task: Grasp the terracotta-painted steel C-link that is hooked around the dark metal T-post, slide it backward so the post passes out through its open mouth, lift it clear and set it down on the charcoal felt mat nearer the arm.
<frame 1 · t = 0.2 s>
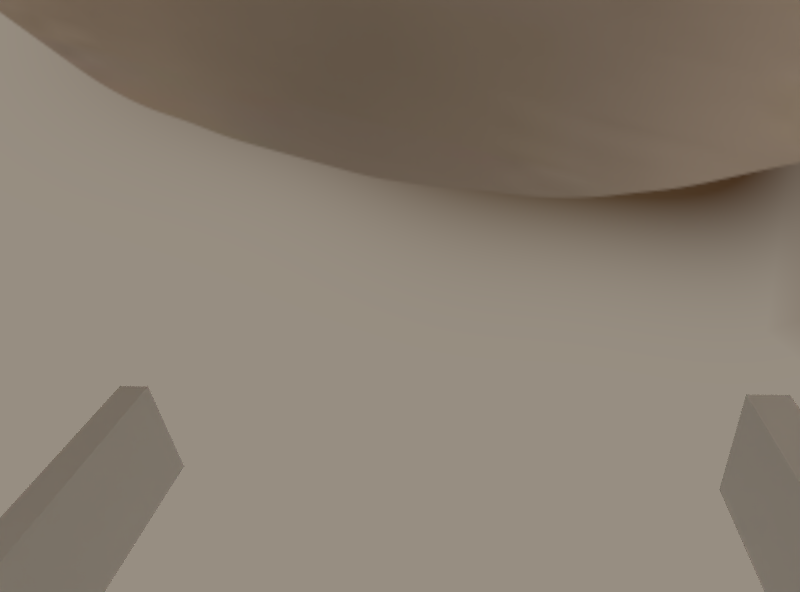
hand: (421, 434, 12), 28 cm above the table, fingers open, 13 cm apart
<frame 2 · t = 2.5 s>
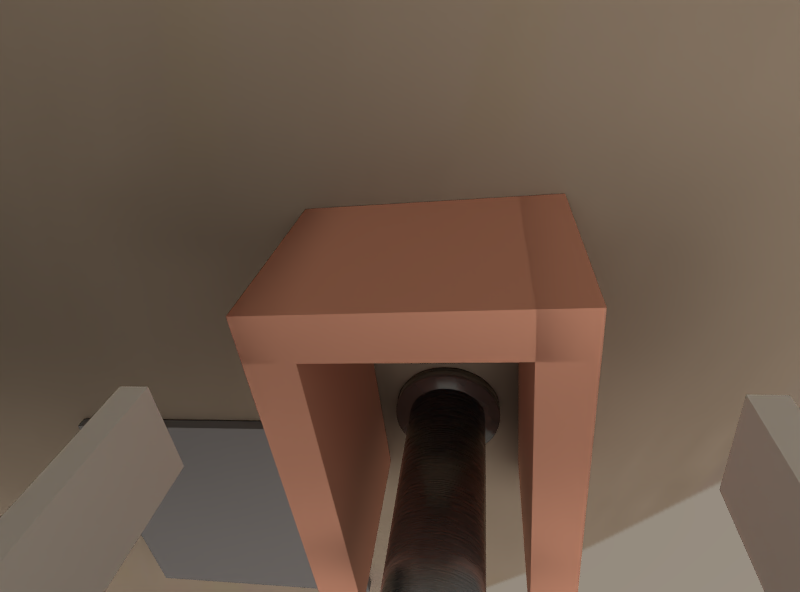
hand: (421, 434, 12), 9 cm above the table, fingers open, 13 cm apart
c link: (443, 351, 22), on the table
mat: (238, 507, 29), on the table
stand: (448, 407, 23), on the table
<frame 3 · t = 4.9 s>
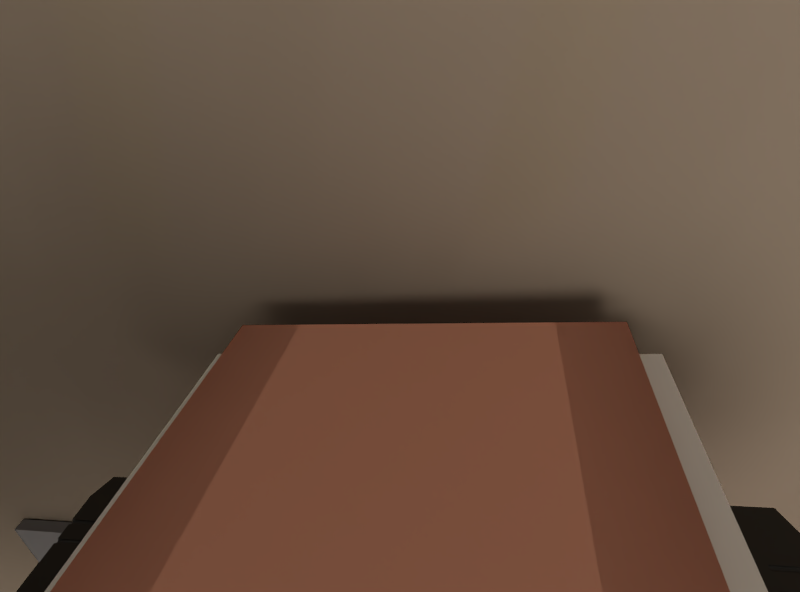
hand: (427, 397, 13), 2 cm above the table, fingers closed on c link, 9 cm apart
c link: (441, 507, 16), point 2 cm above the table, touching gripper
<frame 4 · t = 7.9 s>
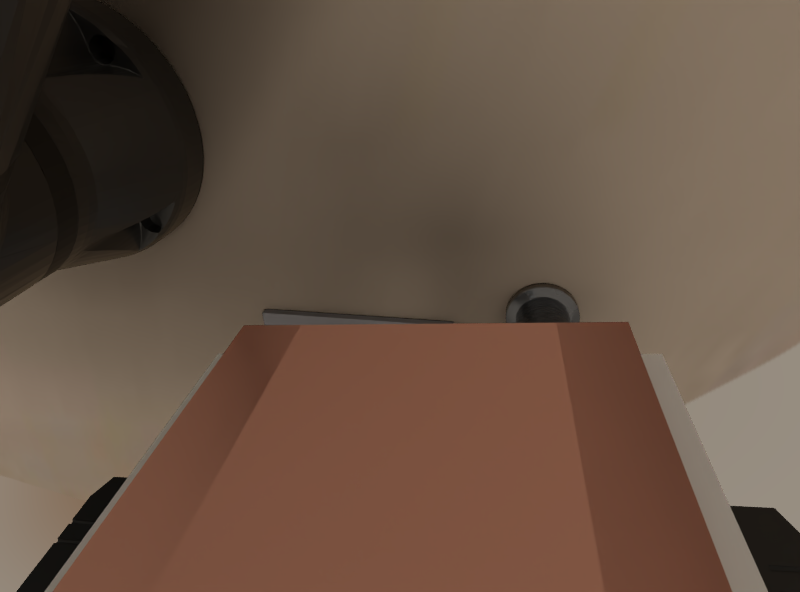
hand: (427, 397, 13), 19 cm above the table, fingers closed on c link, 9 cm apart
c link: (442, 507, 16), point 19 cm above the table, touching gripper
mat: (362, 390, 39), on the table
stand: (541, 314, 33), on the table
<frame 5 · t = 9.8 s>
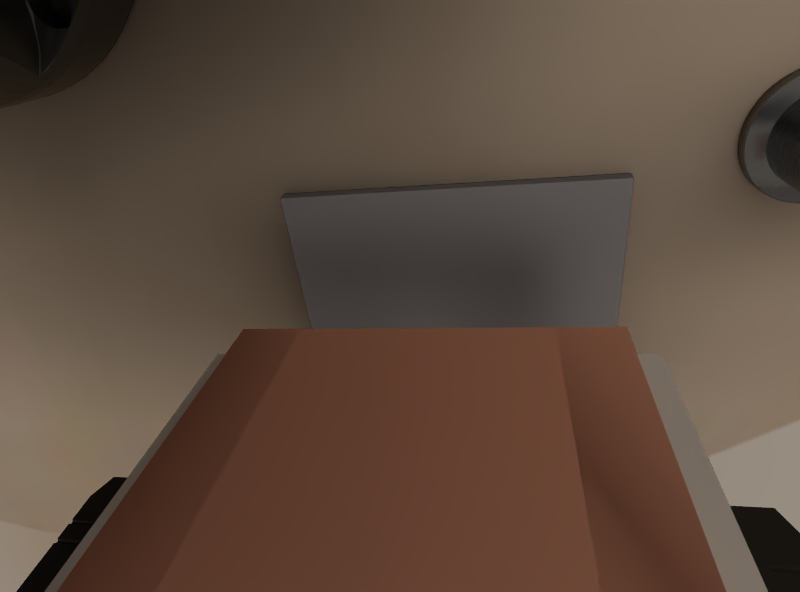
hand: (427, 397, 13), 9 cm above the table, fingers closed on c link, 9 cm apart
c link: (441, 510, 16), point 9 cm above the table, touching gripper
mat: (457, 326, 23), on the table
when the fingers open (2 cm above the table, at t = 11.2 s): c link stays where it is, resting on mat.
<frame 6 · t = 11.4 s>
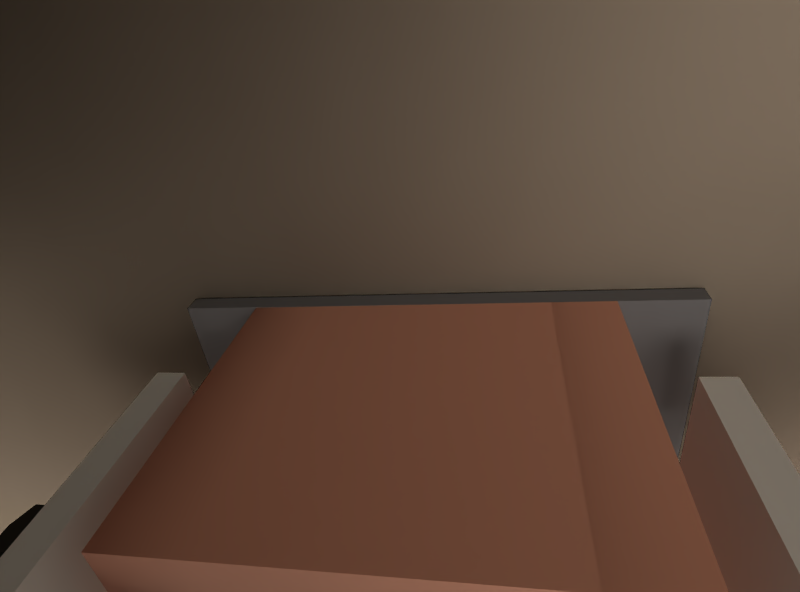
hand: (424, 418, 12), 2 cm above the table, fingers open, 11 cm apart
c link: (444, 483, 16), resting on mat
mat: (445, 470, 17), on the table
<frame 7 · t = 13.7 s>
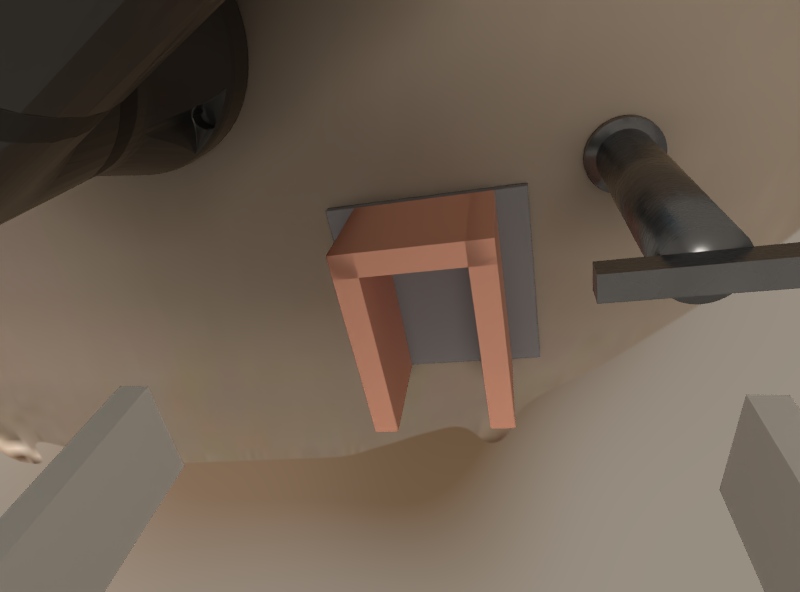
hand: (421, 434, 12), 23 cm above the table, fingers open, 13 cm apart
c link: (437, 287, 37), resting on mat
mat: (438, 284, 37), on the table
stand: (623, 153, 31), on the table
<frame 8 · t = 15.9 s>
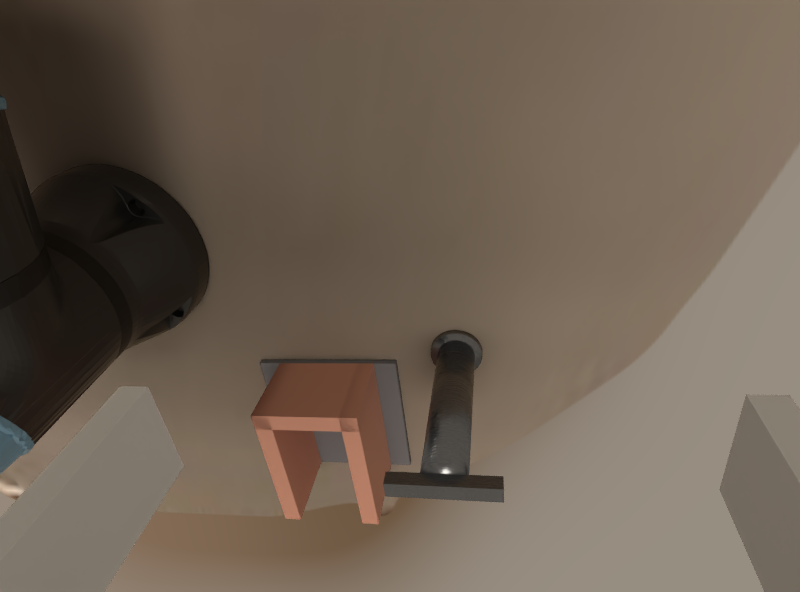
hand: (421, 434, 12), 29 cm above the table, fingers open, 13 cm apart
c link: (338, 416, 52), resting on mat
mat: (339, 412, 52), on the table
stand: (456, 351, 46), on the table
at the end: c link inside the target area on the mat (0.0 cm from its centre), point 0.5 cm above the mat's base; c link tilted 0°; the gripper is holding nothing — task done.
